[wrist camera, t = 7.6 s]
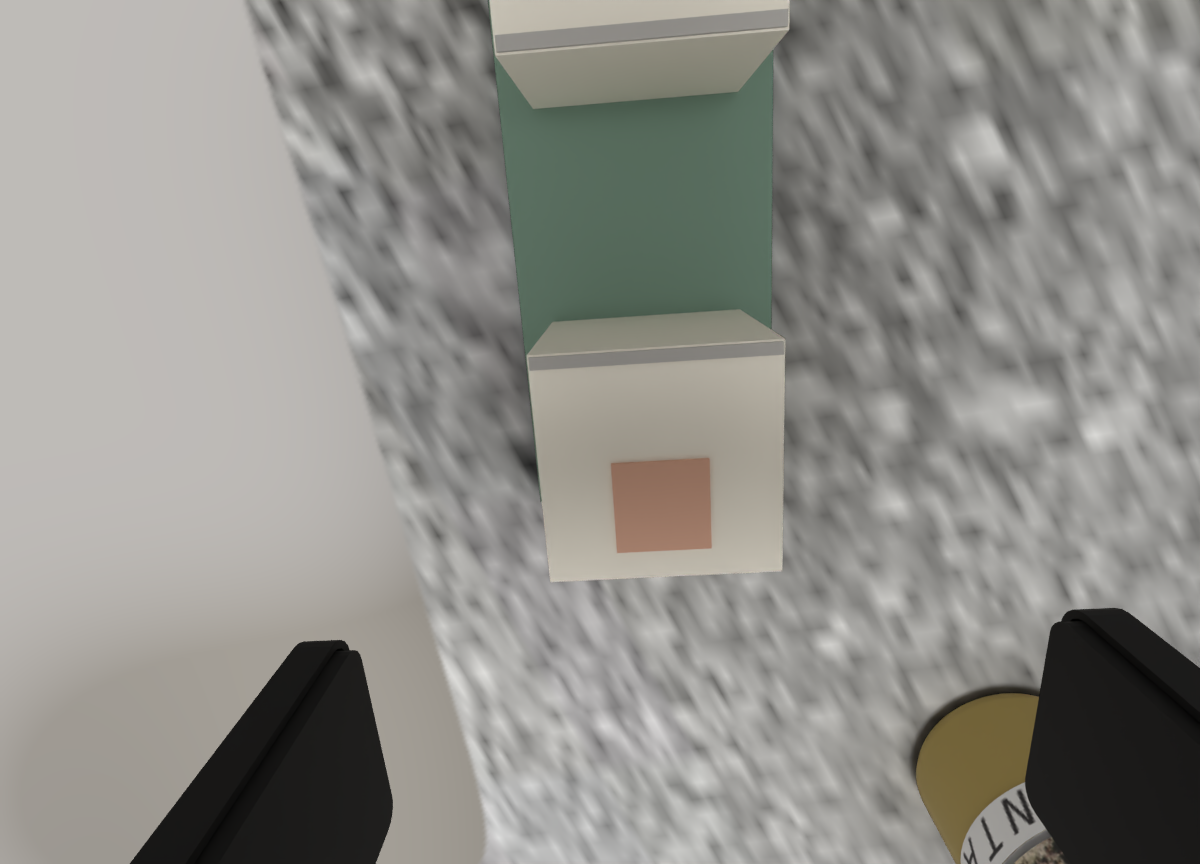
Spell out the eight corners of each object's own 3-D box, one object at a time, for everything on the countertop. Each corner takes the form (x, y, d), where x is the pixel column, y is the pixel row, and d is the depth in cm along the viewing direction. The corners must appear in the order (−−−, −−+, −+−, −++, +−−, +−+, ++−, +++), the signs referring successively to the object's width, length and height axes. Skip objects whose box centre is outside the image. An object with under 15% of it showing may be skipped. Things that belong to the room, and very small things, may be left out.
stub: (552, 321, 21) (526, 356, 15) (739, 309, 21) (786, 339, 15) (568, 493, 23) (550, 584, 17) (740, 484, 22) (783, 573, 17)
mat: (453, -342, 16) (450, -352, 16) (773, -381, 16) (775, -391, 16) (541, 498, 23) (540, 501, 23) (768, 486, 23) (770, 489, 22)
